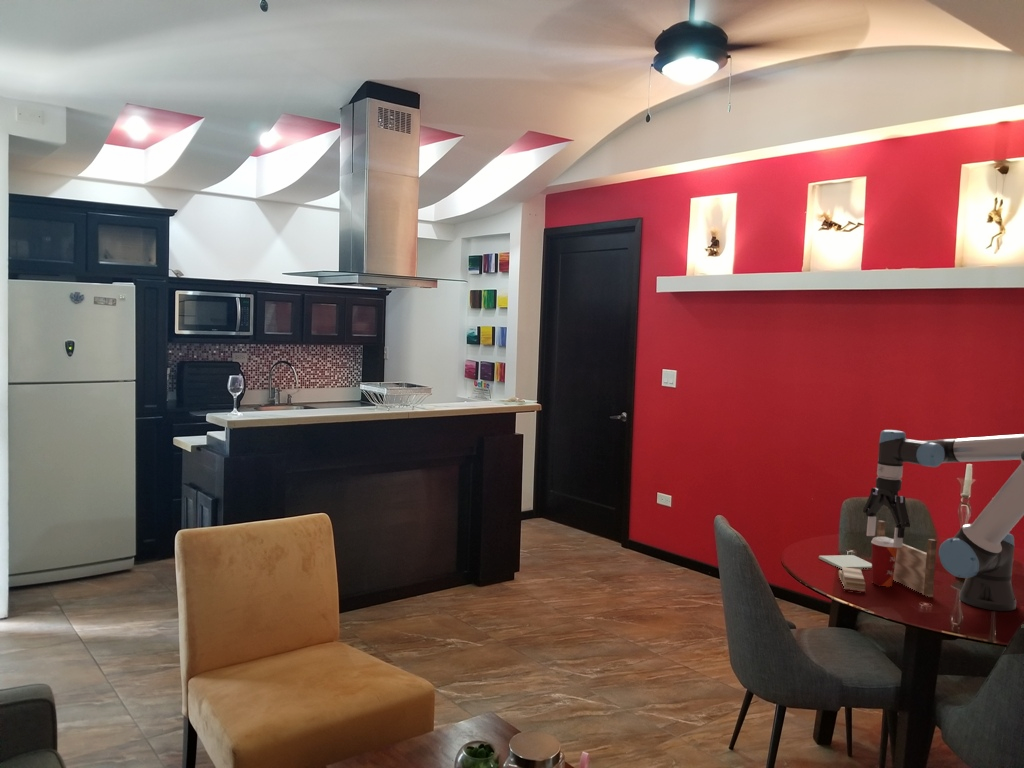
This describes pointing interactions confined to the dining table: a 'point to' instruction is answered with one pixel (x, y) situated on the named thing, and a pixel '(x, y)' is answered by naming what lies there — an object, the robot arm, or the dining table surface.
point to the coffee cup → (883, 561)
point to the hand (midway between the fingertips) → (883, 541)
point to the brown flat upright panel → (914, 565)
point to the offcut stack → (852, 579)
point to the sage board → (846, 561)
